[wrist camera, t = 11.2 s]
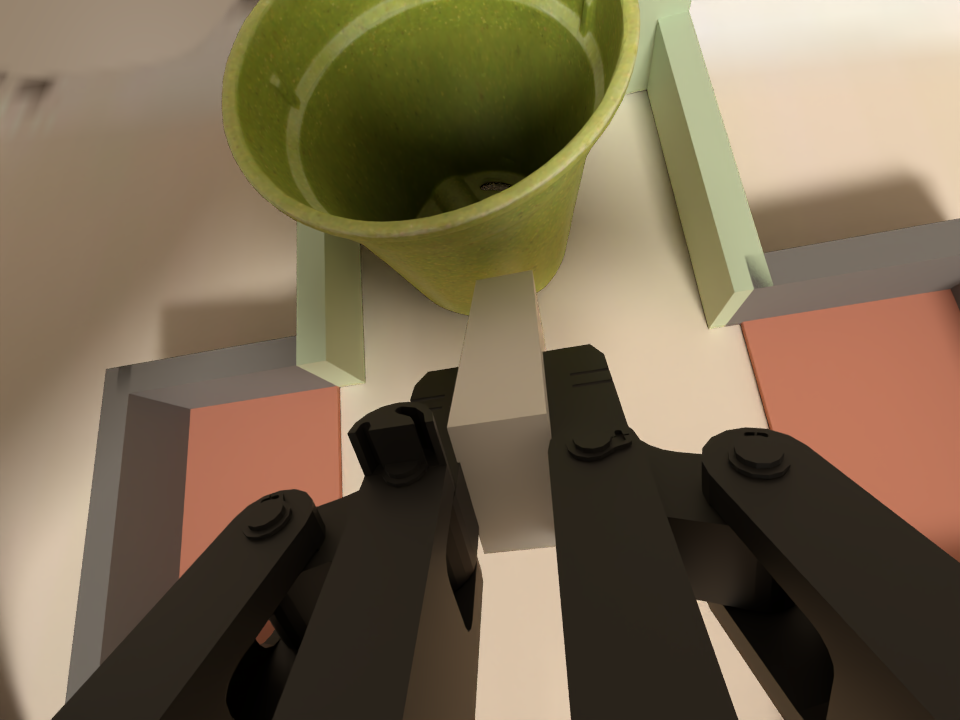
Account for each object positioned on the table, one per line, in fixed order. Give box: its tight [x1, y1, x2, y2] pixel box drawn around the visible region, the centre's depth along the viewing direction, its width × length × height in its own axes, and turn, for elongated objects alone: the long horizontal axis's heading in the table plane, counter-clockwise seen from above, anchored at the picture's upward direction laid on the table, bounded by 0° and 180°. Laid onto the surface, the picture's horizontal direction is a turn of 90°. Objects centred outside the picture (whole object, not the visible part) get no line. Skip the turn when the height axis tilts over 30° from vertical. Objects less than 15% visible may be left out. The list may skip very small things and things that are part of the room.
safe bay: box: [296, 0, 773, 387], centre depth 17 cm, size 11×14×5 cm
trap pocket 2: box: [65, 336, 342, 704], centre depth 16 cm, size 12×8×3 cm, turn 6°
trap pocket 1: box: [725, 218, 960, 562], centre depth 13 cm, size 12×8×3 cm, turn 6°
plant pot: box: [222, 0, 640, 315], centre depth 15 cm, size 9×9×9 cm
